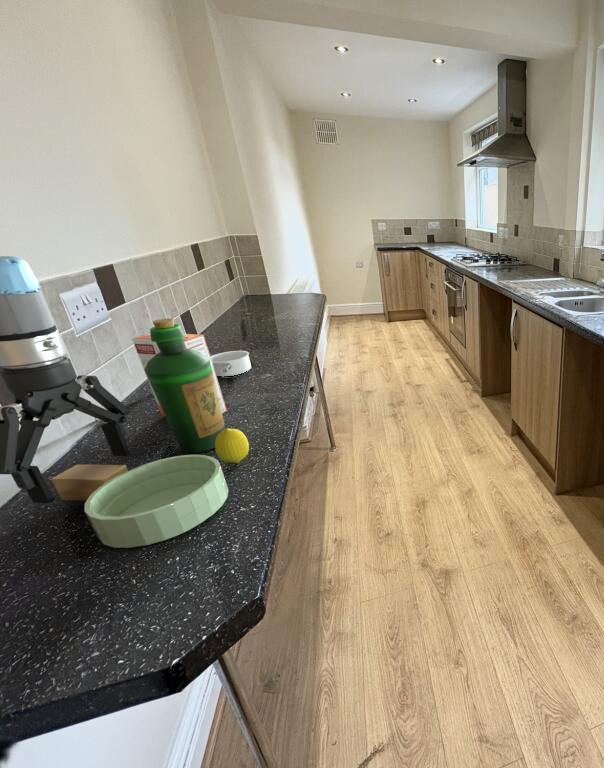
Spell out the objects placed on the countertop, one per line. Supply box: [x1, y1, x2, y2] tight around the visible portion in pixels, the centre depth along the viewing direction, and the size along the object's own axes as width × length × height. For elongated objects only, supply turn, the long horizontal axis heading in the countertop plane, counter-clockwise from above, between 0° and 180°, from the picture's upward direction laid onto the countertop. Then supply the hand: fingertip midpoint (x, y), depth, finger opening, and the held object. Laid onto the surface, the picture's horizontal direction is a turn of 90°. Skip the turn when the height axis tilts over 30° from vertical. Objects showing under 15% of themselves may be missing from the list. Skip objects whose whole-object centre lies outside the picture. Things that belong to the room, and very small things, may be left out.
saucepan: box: [210, 350, 252, 378], centre depth 127 cm, size 12×20×6 cm, turn 29°
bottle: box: [143, 318, 226, 454], centre depth 85 cm, size 11×11×28 cm
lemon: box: [214, 427, 250, 464], centre depth 82 cm, size 6×6×8 cm
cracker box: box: [131, 332, 228, 418], centre depth 100 cm, size 14×6×21 cm, turn 81°
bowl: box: [83, 454, 229, 549], centre depth 69 cm, size 17×17×6 cm
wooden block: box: [51, 463, 129, 507], centre depth 72 cm, size 9×4×6 cm, turn 88°
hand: (86, 476), depth 71 cm, fingers open, 13 cm apart
